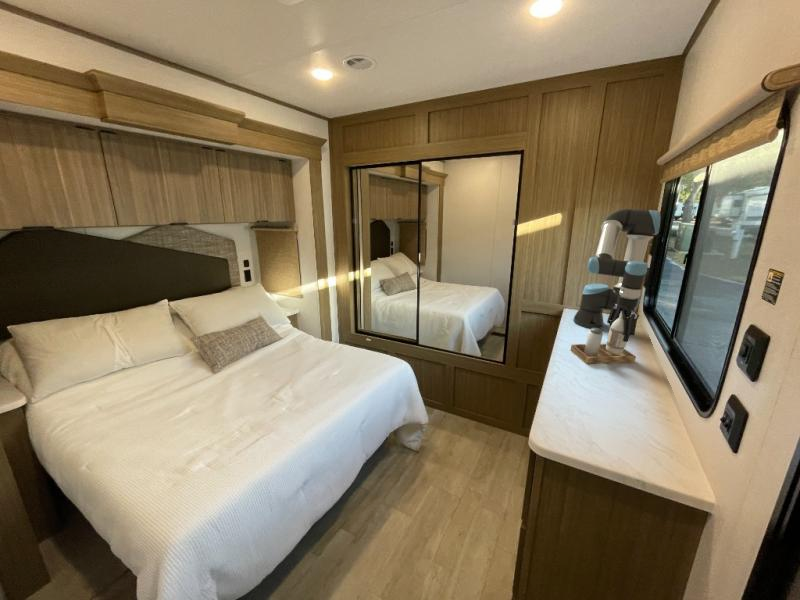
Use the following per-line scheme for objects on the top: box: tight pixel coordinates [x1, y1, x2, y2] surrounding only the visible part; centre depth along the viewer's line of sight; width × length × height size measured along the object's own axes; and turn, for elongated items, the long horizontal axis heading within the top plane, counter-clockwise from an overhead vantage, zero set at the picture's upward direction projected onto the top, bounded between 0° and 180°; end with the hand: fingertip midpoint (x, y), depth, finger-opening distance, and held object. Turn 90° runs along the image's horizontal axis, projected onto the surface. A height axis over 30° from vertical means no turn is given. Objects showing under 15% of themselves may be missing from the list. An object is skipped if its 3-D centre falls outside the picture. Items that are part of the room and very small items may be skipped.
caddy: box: [570, 343, 637, 365], centre depth 152 cm, size 23×13×3 cm, turn 94°
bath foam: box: [605, 311, 628, 354], centre depth 149 cm, size 7×7×20 cm
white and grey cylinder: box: [584, 328, 604, 357], centre depth 150 cm, size 6×6×13 cm
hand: (615, 343), depth 151 cm, fingers closed on bath foam, 7 cm apart
